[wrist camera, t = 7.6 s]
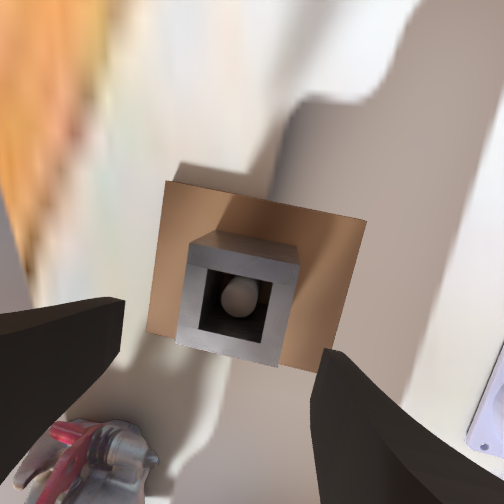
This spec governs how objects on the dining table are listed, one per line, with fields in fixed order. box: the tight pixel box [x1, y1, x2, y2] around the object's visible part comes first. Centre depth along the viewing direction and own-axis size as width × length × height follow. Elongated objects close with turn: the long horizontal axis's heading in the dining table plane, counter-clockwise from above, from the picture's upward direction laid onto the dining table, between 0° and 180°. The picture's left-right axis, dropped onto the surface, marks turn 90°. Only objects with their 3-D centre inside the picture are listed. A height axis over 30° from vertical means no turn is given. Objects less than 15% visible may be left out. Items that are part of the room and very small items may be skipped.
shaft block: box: [146, 181, 367, 373], centre depth 18 cm, size 12×10×4 cm
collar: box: [175, 230, 301, 367], centre depth 16 cm, size 5×5×5 cm
